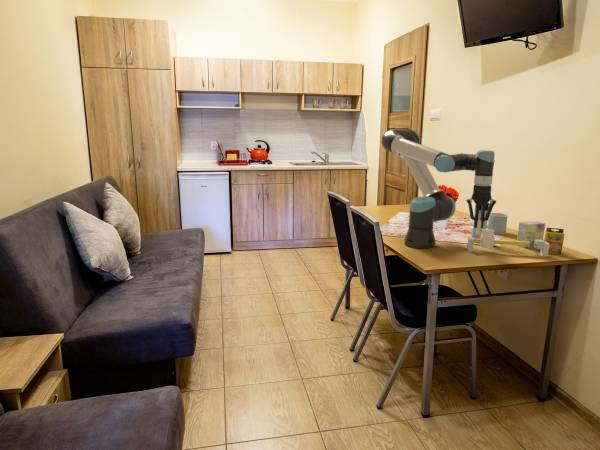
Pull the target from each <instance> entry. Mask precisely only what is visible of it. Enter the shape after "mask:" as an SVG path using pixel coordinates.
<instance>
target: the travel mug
mask: <svg viewBox="0 0 600 450" xmlns="http://www.w3.org/2000/svg"><path fill="white" fill-rule="evenodd" d="M489 205H490V202H488V203H487V204H486V207H485V215H486V213H487V210H488V207H489ZM481 207H482V206H481V205H480V207H479V216H478V220H479V221H480V217H481ZM475 208H476V204H475V206H474V209H475ZM473 215H474V217H475V212H473ZM484 217H485V216H484ZM487 223H488V220H486V221H484V223H483V228H481V230H480V235H476V228H475V227H474V221H473V224H472V233H471V234H472V235H471V237H473V238H475V239H480V237H481V235H482V229H487V228H486V226H488V224H487Z"/></svg>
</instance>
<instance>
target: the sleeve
mask: <svg viewBox="0 0 600 450" xmlns="http://www.w3.org/2000/svg"><path fill="white" fill-rule="evenodd" d="M494 235H495V234H494V230H488V228H486V229H482V235H481V237H480V239H482V243H479V245H480V247H481V248H489V249H494V245H495V244H494V240H495V237H494Z"/></svg>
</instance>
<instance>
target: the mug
mask: <svg viewBox="0 0 600 450" xmlns="http://www.w3.org/2000/svg"><path fill="white" fill-rule="evenodd" d="M508 217H509V215H508V214H505V213H501V212H491V214H490V216H489V219H488V221H487V223H488V224H487V226H486V229H488V230H494V235H505V234H506V232H507V231H506V230H507V226H508V225H507V224H508Z"/></svg>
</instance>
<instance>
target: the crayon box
mask: <svg viewBox="0 0 600 450" xmlns="http://www.w3.org/2000/svg"><path fill="white" fill-rule="evenodd" d="M545 229H546V230H545V232H544V238H543V241H545V242H548V243H549V251H548V254H553V255H554V254H555V255H561V254H562V253H563V252H562V251H563V246H564V245H563V244H564V239H565V235H566V234H565V233H564V231H565V230H564V228H556V227H555V228H554V227H546V228H545ZM554 230H555V231H554Z"/></svg>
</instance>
